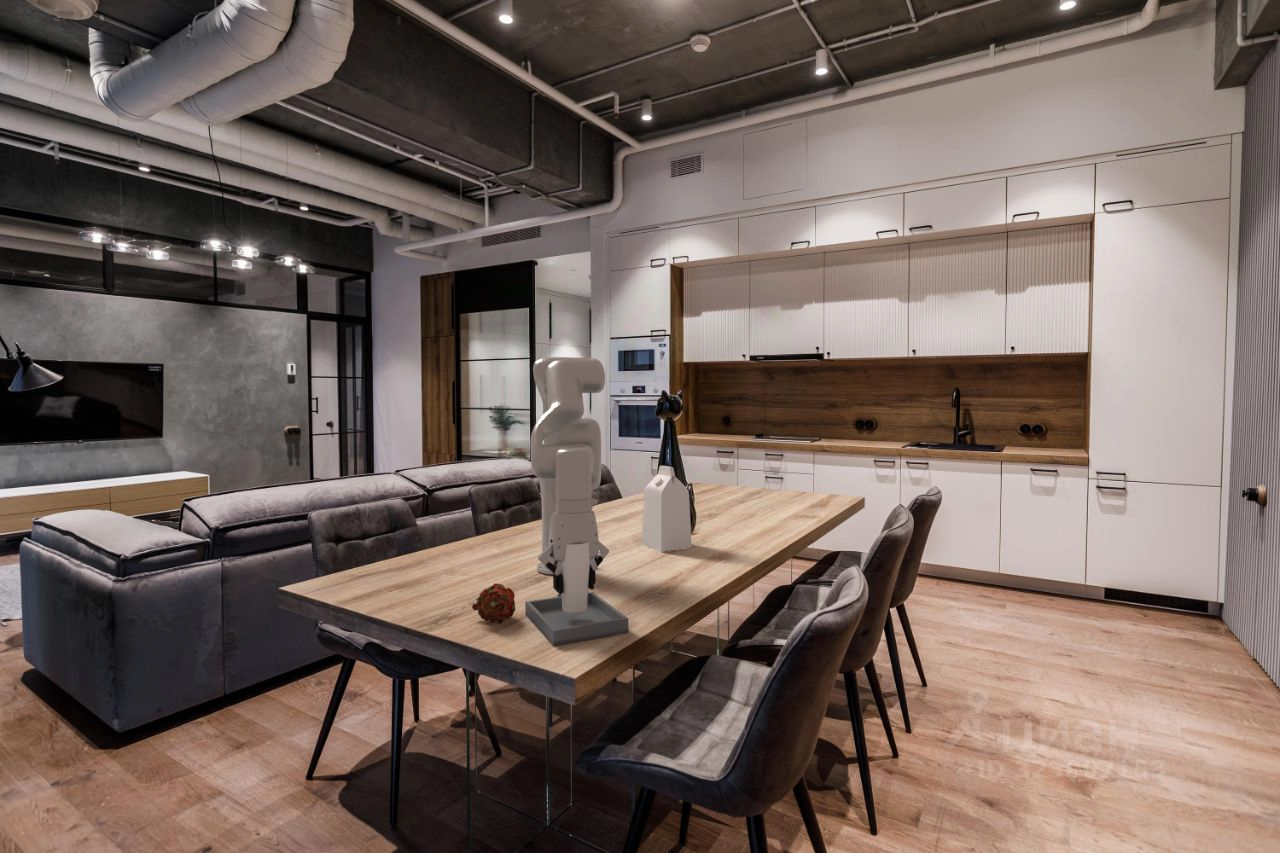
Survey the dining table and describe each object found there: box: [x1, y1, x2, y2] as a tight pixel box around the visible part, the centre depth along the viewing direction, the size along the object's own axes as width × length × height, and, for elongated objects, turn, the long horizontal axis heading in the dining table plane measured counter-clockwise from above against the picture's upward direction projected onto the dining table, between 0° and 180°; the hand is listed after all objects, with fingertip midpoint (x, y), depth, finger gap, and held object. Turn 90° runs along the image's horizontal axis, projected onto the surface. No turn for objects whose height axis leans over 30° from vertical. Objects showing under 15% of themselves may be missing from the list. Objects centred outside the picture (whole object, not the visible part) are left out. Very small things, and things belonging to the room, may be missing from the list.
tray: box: [524, 591, 630, 647], centre depth 136 cm, size 16×20×3 cm
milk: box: [641, 465, 693, 553], centre depth 207 cm, size 12×12×26 cm
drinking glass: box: [561, 542, 590, 614], centre depth 136 cm, size 7×7×15 cm
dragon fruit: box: [471, 582, 516, 624], centre depth 139 cm, size 8×8×12 cm
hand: (574, 589), depth 136 cm, fingers closed on drinking glass, 6 cm apart
